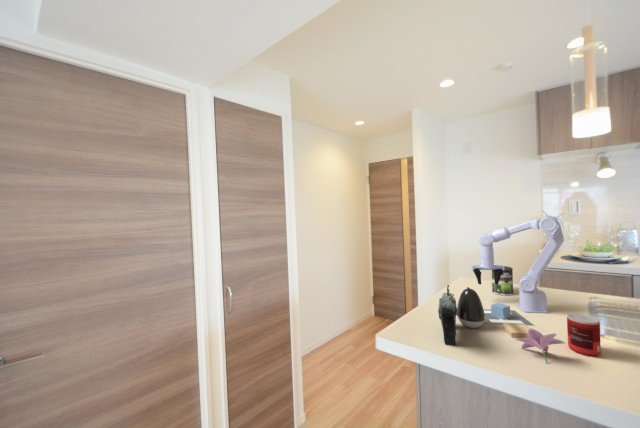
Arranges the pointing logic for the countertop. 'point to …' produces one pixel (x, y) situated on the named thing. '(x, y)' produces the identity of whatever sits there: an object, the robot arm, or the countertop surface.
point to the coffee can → (503, 282)
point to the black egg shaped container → (470, 309)
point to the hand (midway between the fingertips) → (488, 284)
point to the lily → (539, 340)
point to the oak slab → (516, 330)
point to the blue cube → (500, 311)
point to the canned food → (583, 334)
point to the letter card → (514, 319)
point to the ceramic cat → (448, 317)
